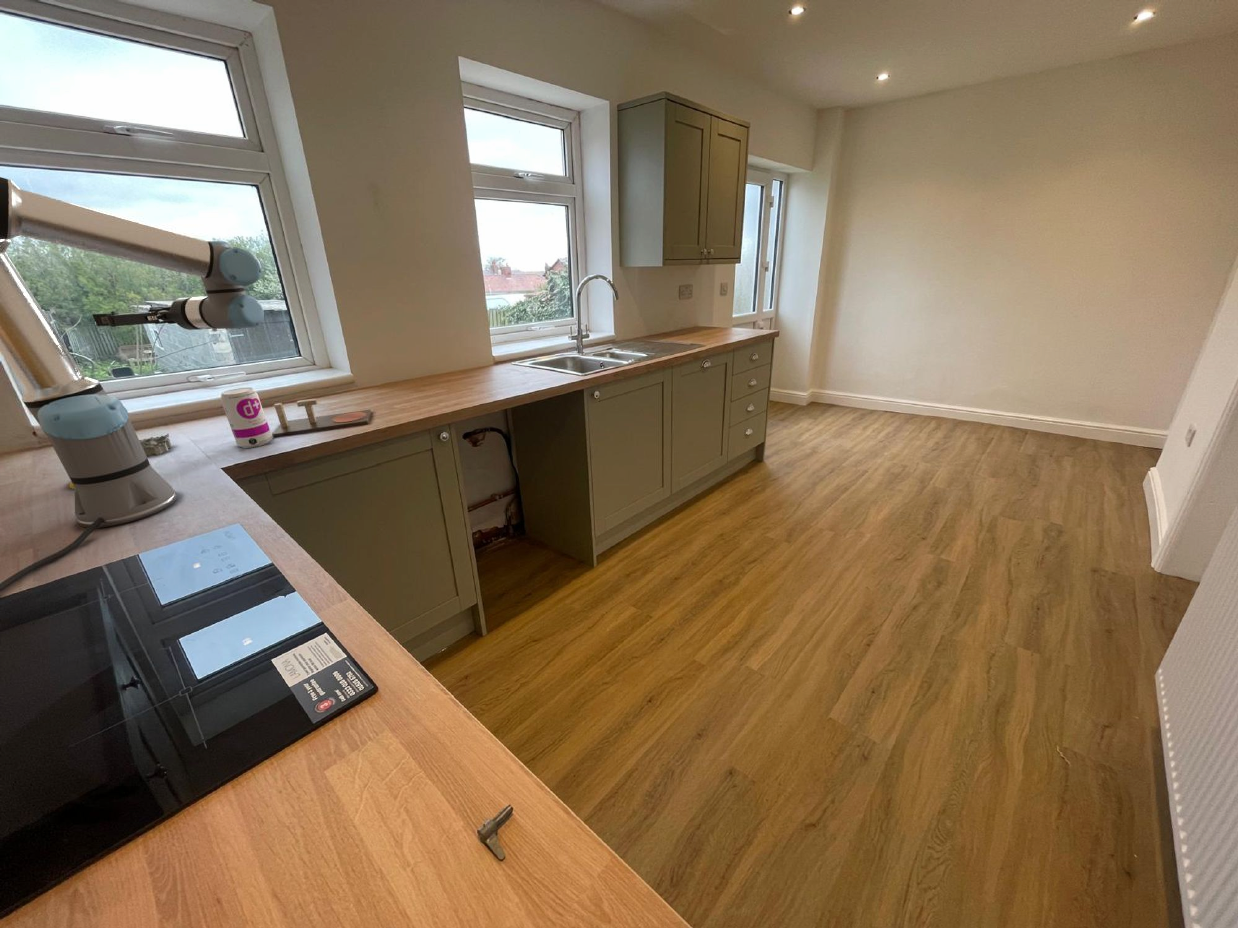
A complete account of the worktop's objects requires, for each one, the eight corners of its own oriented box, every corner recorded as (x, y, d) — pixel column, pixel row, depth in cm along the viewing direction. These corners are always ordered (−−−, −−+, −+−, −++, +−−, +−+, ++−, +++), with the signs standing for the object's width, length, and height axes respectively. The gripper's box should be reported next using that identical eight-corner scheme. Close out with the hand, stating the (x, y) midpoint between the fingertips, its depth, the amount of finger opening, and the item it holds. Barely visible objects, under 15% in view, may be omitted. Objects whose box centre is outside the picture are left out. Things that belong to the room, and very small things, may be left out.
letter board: (368, 423, 151) (361, 398, 148) (273, 437, 144) (264, 410, 141) (371, 412, 163) (365, 388, 159) (283, 424, 155) (275, 399, 152)
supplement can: (278, 440, 141) (261, 388, 135) (246, 450, 134) (226, 396, 128) (264, 436, 145) (247, 385, 139) (232, 445, 138) (212, 393, 133)
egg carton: (116, 461, 131) (109, 447, 130) (129, 452, 138) (122, 438, 136) (166, 453, 135) (159, 439, 133) (176, 445, 141) (170, 431, 140)
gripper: (154, 338, 112) (77, 340, 116) (245, 322, 135) (178, 324, 138) (140, 303, 110) (61, 306, 113) (235, 292, 132) (167, 295, 135)
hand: (125, 316), depth 126 cm, fingers open, 13 cm apart
